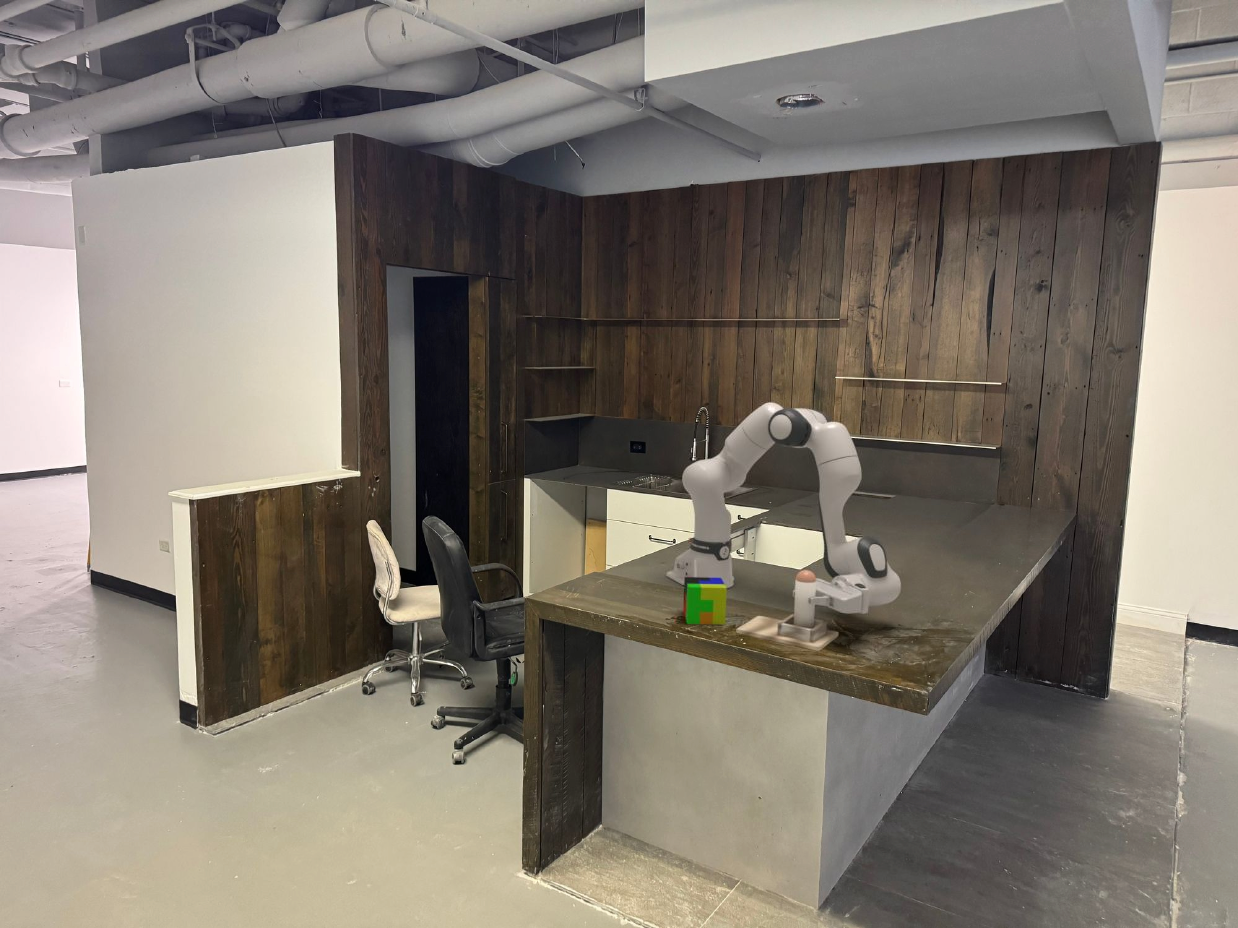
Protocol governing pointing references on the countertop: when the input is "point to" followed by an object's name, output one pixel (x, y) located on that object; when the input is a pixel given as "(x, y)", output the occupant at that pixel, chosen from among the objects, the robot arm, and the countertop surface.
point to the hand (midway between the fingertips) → (802, 597)
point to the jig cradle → (789, 632)
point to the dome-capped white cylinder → (804, 599)
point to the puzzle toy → (704, 600)
